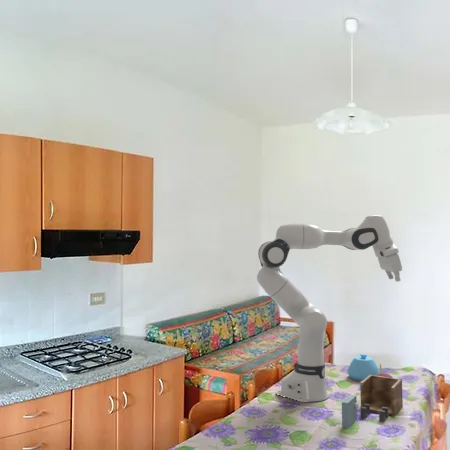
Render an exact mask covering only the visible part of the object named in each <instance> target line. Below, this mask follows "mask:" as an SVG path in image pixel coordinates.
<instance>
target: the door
mask: <svg viewBox="0 0 450 450" xmlns="http://www.w3.org/2000/svg"><path fill="white" fill-rule="evenodd" d="M359 405H360V404H359V403H358V401H357V395H356V394H355V395H354V394H350V395H349V396H347V397H345V399H344V400H343V401H341V427H342V428H344V429H345V428H346V429H349V428H351V426H352V425H353V424H354V423H355V422H356V421H357V420H358V417H357V416H358V414H357V413H358V412H357V411H358V408H359Z"/></svg>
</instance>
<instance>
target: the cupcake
mask: <svg viewBox="0 0 450 450" xmlns="http://www.w3.org/2000/svg"><path fill="white" fill-rule="evenodd" d="M379 371H380V373H379V374H376V376H383V377H390V378H394V377H393V376H392V375H391V374H389V373H387V372H383V371H382V364H379Z"/></svg>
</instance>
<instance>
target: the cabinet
mask: <svg viewBox="0 0 450 450" xmlns="http://www.w3.org/2000/svg"><path fill="white" fill-rule="evenodd" d="M359 382H360V389H359V390H360V417H361V418H367V417H368V416H367V415H370V414H371V413H375V414H378V419H379V422H380V421H381V422H385V421H386V419H388V418H389V416H391V417H393V418H395V417H396V416H397V415H398V413H399V412H400V411H401V410H402V408H403V379H402V378H395V377H393V378H390V377H383V376H376V375H369V376H368V377H367V378H365V379H364V380H363V381H359Z"/></svg>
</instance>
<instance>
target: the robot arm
mask: <svg viewBox="0 0 450 450" xmlns="http://www.w3.org/2000/svg"><path fill="white" fill-rule="evenodd" d="M275 232H276V233H275V238H274V240H272V241H271V240H270V241H265V242H264V243H262V244H260V247H259V248H258V252H257V254H258V259H259V263H260V265H261V268H260V270H259V271H258V273H257V275H256V280H257V283H258V284H259V285H260V286H261V288H262V289H263V290H264V292H265V293H266V295H268V296H269V297H270V298H271V300H273V301H274V302H275V303H276V304H277V306H279V307H280V308H281V309H282V310H283V311H284V312H285V313H286V314H287V315H288V316H289V317H290V318H291V319H292V320H293V321H294V322H295V323H296V324H297V326H299V336H298V337H299V338H298V343H297V361H296V362H294V364H293V365H292V368H293V369H294V370H293V371H292V372H291V373H289V374H288V375H287V376H285V377H284V378H283V379H282V381H281V386H280V388H278V389H277V390H276V392H275V394H276V393H277V394H279V395H282V396H285V397H288V398H287V399H289V398H291V399H290V400H292V399H294V400H293V401H296V400H297V402H300V403H309V402H322V401H324V400H327V399H328V398H329V394H328V391H327V386H326V379H325V378H326V364H325V356H324V353H325V351H324V347H325V346H324V345H325V337H326V329H327V326H328V320H327V316H326V315H325V313H324V312H323V311H322V310H321V309H319V308H317V307H316V306H315V305H314V304H313V303H311V301H309V299H308V298H307V297H306V296H305V295H304V294H303V292H302V291H301V290H300V289H299V288H298V287H297V286H296V285H295V284H294V283H293V282H292V281H291V280H290V279H289V278H288V277H287V276H286V275H285V274H284V273H283V272H282V271H281V268H280V267H281V266H283V265H284V264H285V263H286V260H288V259H287V258H288V255H289V253H290V250H293V249H294V250H312V249H318V248H319V247H321V246H324V245H325V246H326V245H327V246H328V245H329V246H341V247H345V248H346V249H349V250H350V251H356V250H358V251H360V250H361V251H362V250H363V251H364V250H367V249H369V248H370V247H371V246H372V248H373V251H374V255H375V257H376V258H377V260H378V264H379V267H380V269H381V270H383V271H385V273H386V275H387V277H388V279H389V280H393V279H394V281H395V282H397V283H398V282H401V276H400V272H402V270H403V265H402V261H401V259H400V258H401V257H400V255H399V249H398V247H397V246H396V245H395V244H394V241H393V238H392V237H391V232H390V229H389V226H388V224H387V222H386V219H385V218H384V216H383V215H380V214H376V215H369V216H366V217H365V218H364V220H363V221H362V222H361V223H360V224H359V225H358V226H357V227H351V228H348V229H345V230H343V231H336V230H333V231H332V230H324V229H322V228H320V227H319V226H317V225H314V224H309V223H308V224H307V223H291V224H283V225H280V226H279V227H278V228H277V230H276V231H275ZM285 397H284V398H285Z"/></svg>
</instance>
